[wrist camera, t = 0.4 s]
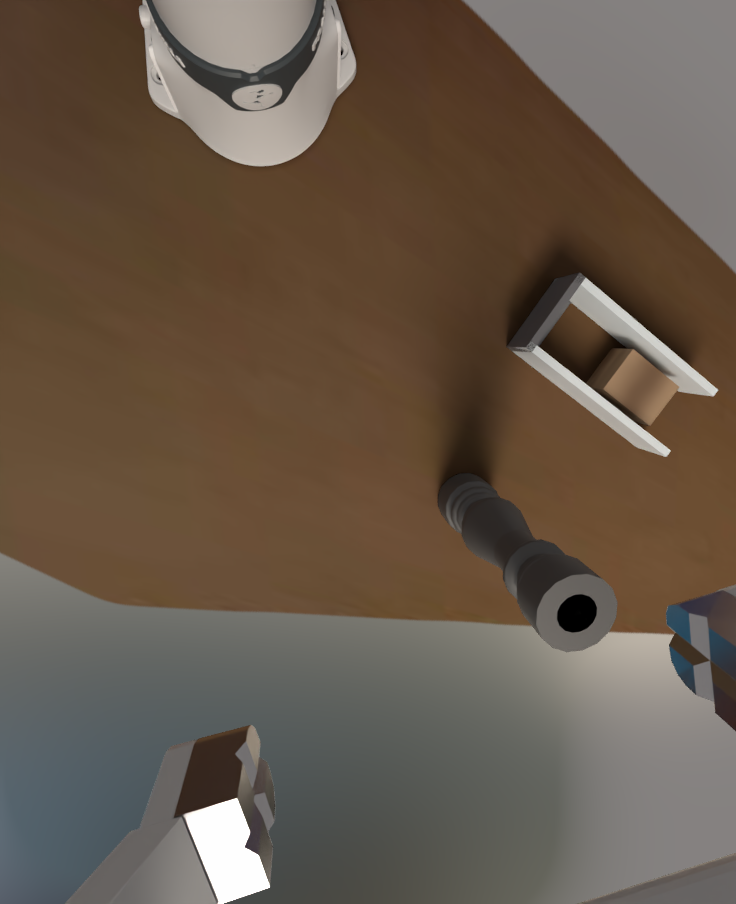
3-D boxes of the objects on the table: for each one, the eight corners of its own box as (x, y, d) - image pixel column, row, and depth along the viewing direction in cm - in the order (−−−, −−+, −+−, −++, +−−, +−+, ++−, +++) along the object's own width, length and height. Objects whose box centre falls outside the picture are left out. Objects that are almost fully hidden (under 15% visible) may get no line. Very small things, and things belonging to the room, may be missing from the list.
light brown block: (583, 385, 57) (603, 389, 53) (610, 348, 56) (633, 348, 52) (627, 420, 58) (649, 425, 54) (654, 384, 58) (679, 387, 54)
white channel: (506, 346, 55) (525, 347, 50) (555, 278, 54) (579, 272, 49) (636, 447, 59) (666, 456, 54) (683, 385, 58) (718, 390, 53)
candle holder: (500, 503, 58) (636, 619, 34) (456, 535, 59) (561, 672, 34) (471, 462, 57) (593, 552, 33) (427, 494, 57) (514, 607, 33)
